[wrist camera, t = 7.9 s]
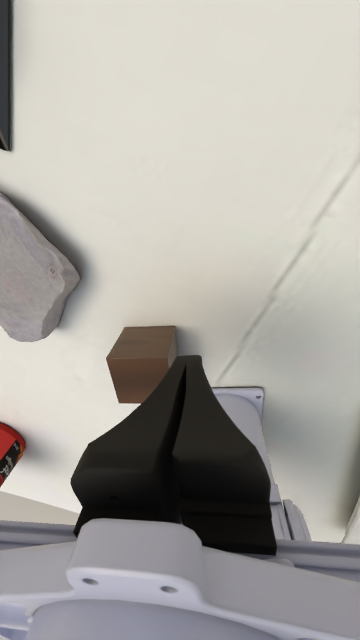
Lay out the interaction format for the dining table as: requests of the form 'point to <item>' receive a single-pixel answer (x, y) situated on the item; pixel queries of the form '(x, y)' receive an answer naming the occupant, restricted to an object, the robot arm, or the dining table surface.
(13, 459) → the canned food
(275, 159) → the dining table surface
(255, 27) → the dining table surface
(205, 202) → the dining table surface
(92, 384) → the dining table surface
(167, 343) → the walnut cube
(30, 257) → the stone block
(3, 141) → the build plate
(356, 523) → the square plate
